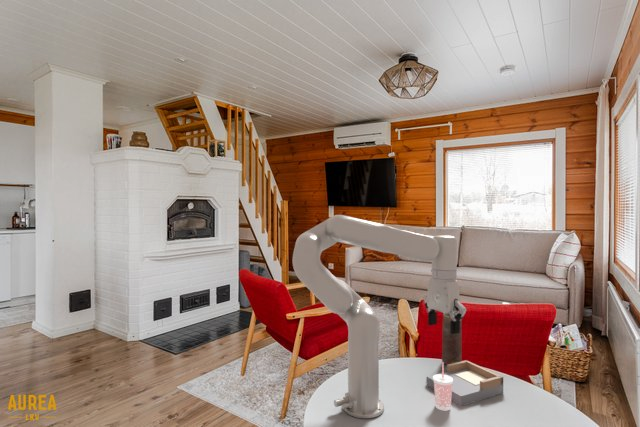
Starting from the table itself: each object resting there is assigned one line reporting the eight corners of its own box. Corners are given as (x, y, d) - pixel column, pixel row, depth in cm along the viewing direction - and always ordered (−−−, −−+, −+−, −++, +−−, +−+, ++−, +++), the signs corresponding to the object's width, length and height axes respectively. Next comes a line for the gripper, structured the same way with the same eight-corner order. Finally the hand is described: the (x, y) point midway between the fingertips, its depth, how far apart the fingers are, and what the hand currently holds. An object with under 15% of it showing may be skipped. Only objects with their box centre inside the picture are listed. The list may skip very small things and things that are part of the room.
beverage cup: (428, 404, 120) (428, 360, 120) (444, 400, 123) (443, 357, 122) (442, 413, 115) (441, 367, 114) (457, 409, 117) (457, 364, 117)
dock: (461, 405, 119) (460, 388, 119) (426, 384, 134) (426, 369, 134) (503, 393, 127) (503, 376, 127) (466, 374, 142) (466, 360, 142)
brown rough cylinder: (459, 360, 155) (459, 312, 155) (464, 368, 148) (464, 317, 148) (440, 360, 156) (439, 311, 156) (444, 367, 148) (443, 316, 148)
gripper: (416, 271, 125) (415, 323, 125) (456, 280, 110) (455, 338, 110) (433, 270, 129) (433, 320, 129) (474, 278, 113) (473, 335, 113)
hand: (443, 328), depth 119 cm, fingers open, 9 cm apart
